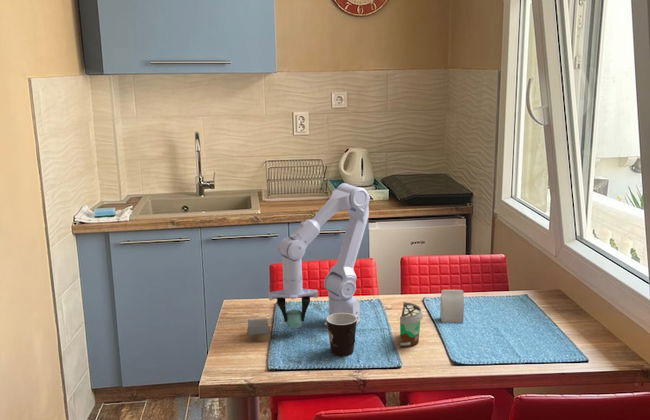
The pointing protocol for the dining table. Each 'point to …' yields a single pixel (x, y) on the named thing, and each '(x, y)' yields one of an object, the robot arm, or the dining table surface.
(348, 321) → the coffee mug
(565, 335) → the dining table surface
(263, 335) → the base block
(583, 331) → the dining table surface
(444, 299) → the grey rectangular block
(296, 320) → the green rounded cylinder
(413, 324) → the food container
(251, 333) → the top block
